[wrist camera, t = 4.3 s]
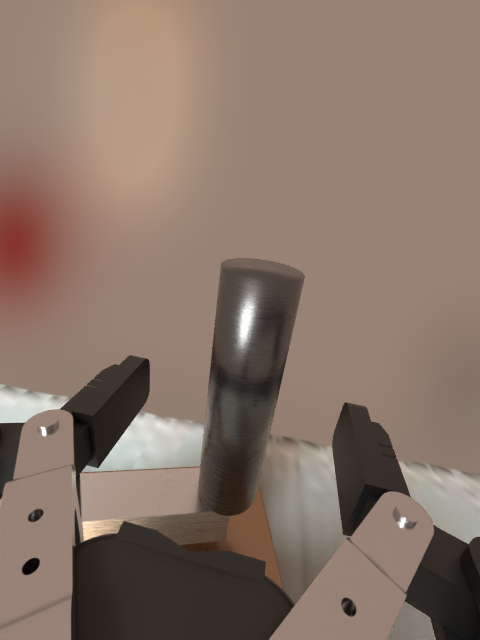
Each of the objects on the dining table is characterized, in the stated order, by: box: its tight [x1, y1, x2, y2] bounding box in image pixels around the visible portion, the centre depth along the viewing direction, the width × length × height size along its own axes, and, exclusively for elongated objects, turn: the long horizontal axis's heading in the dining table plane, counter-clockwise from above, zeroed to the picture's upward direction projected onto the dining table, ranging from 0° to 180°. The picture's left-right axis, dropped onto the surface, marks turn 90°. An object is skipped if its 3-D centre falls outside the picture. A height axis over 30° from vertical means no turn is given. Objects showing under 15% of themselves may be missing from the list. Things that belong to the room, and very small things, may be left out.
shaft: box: [0, 258, 305, 545], centre depth 13 cm, size 17×3×15 cm, turn 99°
